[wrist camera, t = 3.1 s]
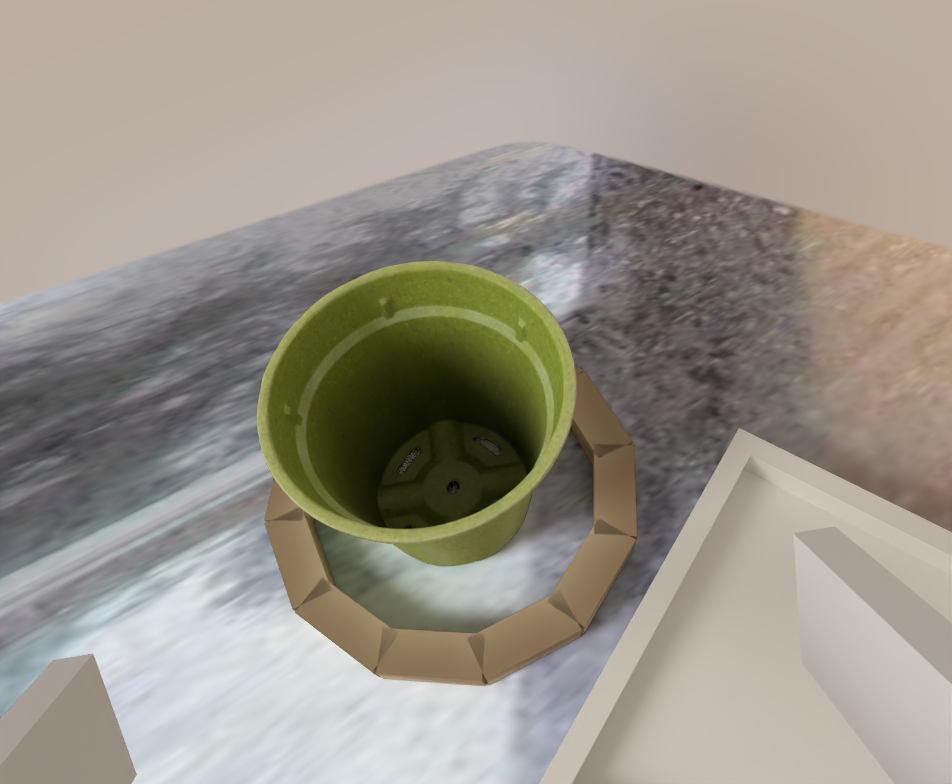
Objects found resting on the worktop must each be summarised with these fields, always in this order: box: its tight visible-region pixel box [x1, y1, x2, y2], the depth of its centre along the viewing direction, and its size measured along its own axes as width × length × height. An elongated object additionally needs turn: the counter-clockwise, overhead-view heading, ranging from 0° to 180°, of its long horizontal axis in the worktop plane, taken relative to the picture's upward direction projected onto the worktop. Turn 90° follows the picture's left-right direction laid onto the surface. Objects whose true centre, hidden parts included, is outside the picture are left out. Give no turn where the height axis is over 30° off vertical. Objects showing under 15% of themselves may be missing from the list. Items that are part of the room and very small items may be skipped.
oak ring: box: [265, 365, 637, 686], centre depth 27 cm, size 14×14×1 cm
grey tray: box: [539, 428, 952, 784], centre depth 21 cm, size 15×15×2 cm
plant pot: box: [257, 261, 576, 566], centre depth 24 cm, size 9×9×9 cm
